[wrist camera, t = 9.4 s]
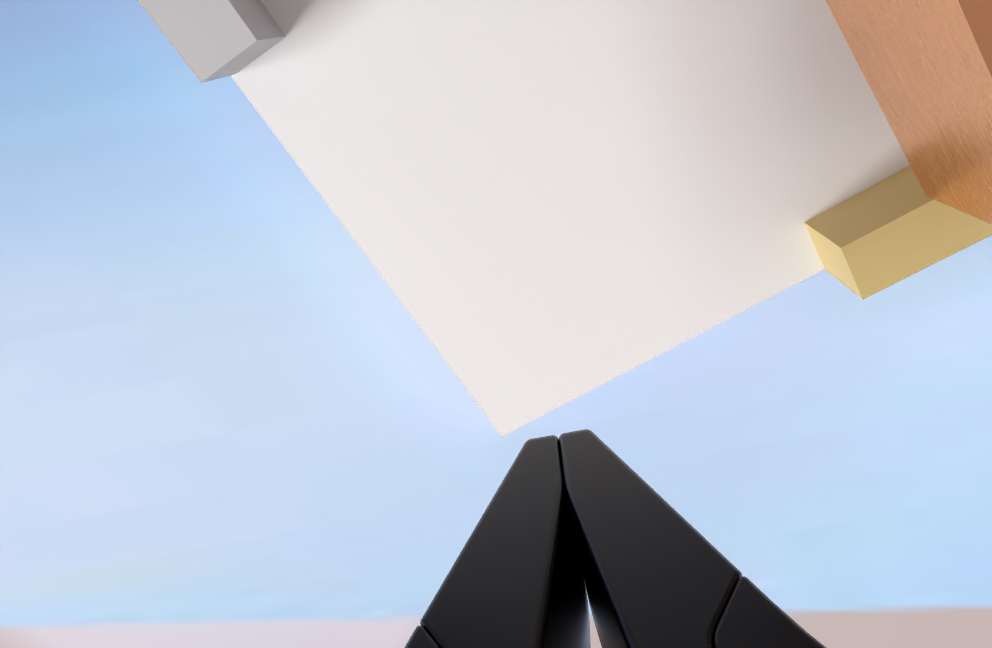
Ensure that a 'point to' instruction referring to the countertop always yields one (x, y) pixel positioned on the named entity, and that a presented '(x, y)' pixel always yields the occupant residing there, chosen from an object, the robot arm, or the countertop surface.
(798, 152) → the coupling board
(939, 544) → the countertop surface
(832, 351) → the countertop surface
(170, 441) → the countertop surface
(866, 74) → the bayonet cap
